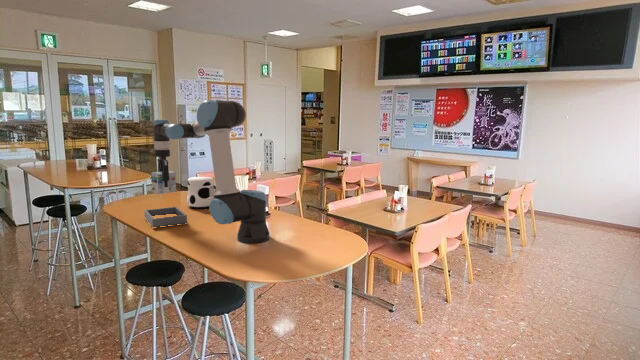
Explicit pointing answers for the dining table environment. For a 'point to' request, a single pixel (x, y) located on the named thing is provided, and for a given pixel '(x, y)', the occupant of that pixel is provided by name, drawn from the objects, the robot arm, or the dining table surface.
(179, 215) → the grey bin
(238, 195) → the robot arm
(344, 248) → the dining table surface
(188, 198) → the milk container
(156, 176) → the light bulb box
